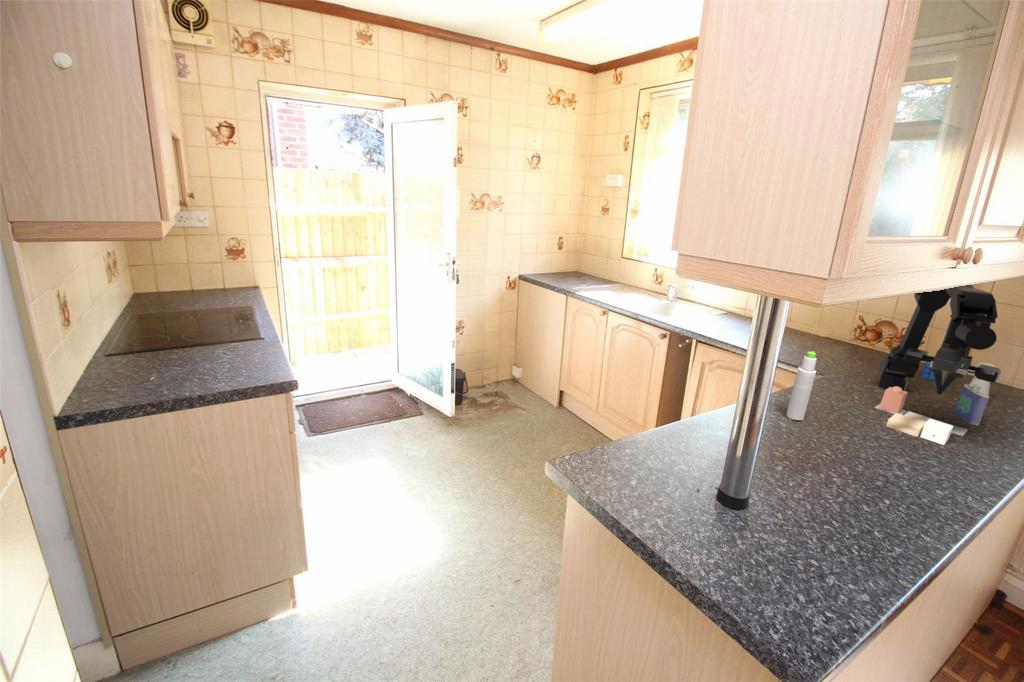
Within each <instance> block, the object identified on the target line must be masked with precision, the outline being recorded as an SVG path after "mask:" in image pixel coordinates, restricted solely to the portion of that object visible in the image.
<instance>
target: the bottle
mask: <svg viewBox="0 0 1024 682" xmlns="http://www.w3.org/2000/svg"><path fill="white" fill-rule="evenodd" d="M816 355H817V353H816V352H815V351H807V352H806V355H804V356H803V359H802V362H801V366H799V367H798V368H797V372H796V376H795V379H794V383H793V387H792V391H791V393H790V394H791V395H790V400H789V403H788V405H787V406H788V407H787V410H786V414H785V416H786V415H787V416H788V417H790V418H792V419H795V420H803V421H804V418H805V415H806V412H807V411H806V410H807V407H808V404H809V399H810V397H811V392H812V389H813V385H814V381H815V377H816V374H817V370H815V368H816V364H817V357H816Z"/></svg>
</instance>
